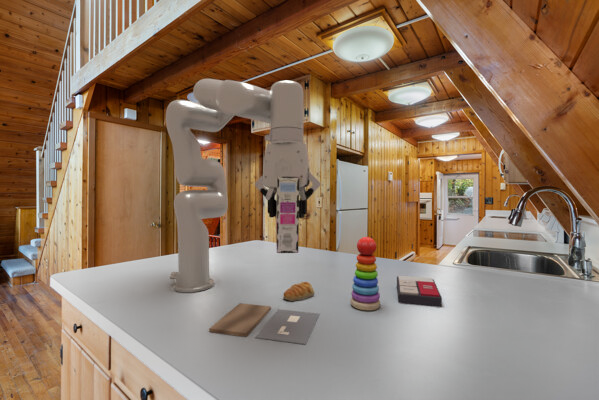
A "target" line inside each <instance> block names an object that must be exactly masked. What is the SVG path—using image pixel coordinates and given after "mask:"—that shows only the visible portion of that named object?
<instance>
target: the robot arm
mask: <svg viewBox="0 0 599 400" xmlns="http://www.w3.org/2000/svg"><path fill="white" fill-rule="evenodd" d="M193 96H194V100H196V101H191V100H187V99H176V100H175V99H174V100H173V101H171V102H169V104H168V106H167V108H166V112H165V124H166V130H167V133H168V137H169V138H170V141H171V145H172V153H173V161H174V169H175V170H174V171H175V177H176V180H177V182H178V184H179V185H180V186H184V187H193V188H194V187H197V188H199V187H200V188H201V187H204V188H205V187H206V189H207V190H206V189H189V190H183V191H181V192H179V193H177V194H176V196H175V197H174V199H173V209H174V213H175V218H176V226H177V252H178V253H177V257H178V258H177V259H178V261H177V262H178V263H177V264H178V267H177V268H178V271H172V272H171V274H170V275H169V279H170V280H175V282H174V284H173V289H174V291H176V292H178V293H196V292H201V291H206V290H208V289H210V288H212V287H214V286H215V280H214V279H213V278H210V247H209V246H210V244H209V243H210V240H209V239H210V236H209V235H210V234H209V233H210V232H209V230H208V227H207V226H206V224H205V223H204V221H203V220H204V219H215V218H220V217H223V216H225V215H226V213H228V208H229V200H228V189H227V183H226V175H225V170H224V167H223V166H222V164H221V163H220V162H219V161H218V160H216V159H215V160H214V159H208V158H203V157H202V152H201V144H200V143H199V140H198V139H197V137H196V136H195V134H193V132H192V131H191V129H192V130H197V131H203V132H209V133H216V132H220V131H221V130H222V129H223V128H224V127H225V126H226V125H227V124H228V123H229V122H230V121H231V120H232V119H233V117H235V116H237V117H240V118H243V119H249V120H253V121H256V122H257V121H258V122H261V123H266V124H269V125H270V130H269V133H268V134H265V135H264V140H265V141H266V142H267V141H268V142H269V143H268V144H266V148H265V153H264V160H263V169H262V170H263V171H262V175H261V176H260V177H259V178H258V179H257V180H256V181H255V182H254V187H256V189H257V190H258V191H259V192H260V193H261V195H263V197H264V198H265V200H266V201H267V214H268V216H269V218H274V217H275V218H276V215H277V209H276V208H277V199H276V196H277V177H286V176H287V177H299V219H303V218H305V216H306V215H307V213H308V200H309V198H310V197H312V196H313V194H315V192H316V191H317V190H318V188H320V187H321V185H322V183H321V181H319V179H318V178H316V177H315V176H314V175H313V174H312V173H311V172H310V160H309V153H308V147H307V144H306V143H305V142H304V89H303V86H302V84H300V83H299V82H297V81H294V80H287V79H285V80H279V81H276V82H274V83H273V84H272V85H271V87H270V90H268V89H265V88H262V87H259V86H257V85H253V84H250V83H247V82H243V81H237V80H232V79H225V80H222V79H221V80H220V79H214V78H202V79H200V80H198V81H197V82H196V83H195V84H194V86H193ZM310 182H311V184H312V185H311V186H310ZM309 186H310V187H309ZM307 187H309V188H308V189H307Z"/></svg>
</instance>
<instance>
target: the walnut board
mask: <svg viewBox="0 0 599 400" xmlns="http://www.w3.org/2000/svg"><path fill="white" fill-rule="evenodd" d="M271 310H272V306H271V305H261V304H252V303H241V302H240V303H238V304H236V306H235V307H233V308H232V309H231V310H229V311H228V312H226V314H224V315H223V317H221V318H220V319H219V320H217V321H216V322H215V323H214V324H213V325H212V326H210V327H209V329H208V332H209V333H213V334H219V335H220V334H221V335H228V336H237V337H242V338H243V337H245V338H247V337H248V336H249V335H250V334H251V333H252V331H253V330H254V329H255V328H256V327H257V326H258V325H259V324H260V323H261V321H262V320H263V319H264V318H265V317H266V315H267V314H268V313H269V312H270V311H271Z"/></svg>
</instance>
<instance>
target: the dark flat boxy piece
mask: <svg viewBox="0 0 599 400" xmlns="http://www.w3.org/2000/svg"><path fill="white" fill-rule="evenodd" d="M396 293H397V302H398V304H404V305H416V306H425V307H435V308H442V307H443V305H442V304H443V303H442V302H443V301H442V300H443V299H442V295H441V293H440V291H439V288H438V286H437V284H436V281H435V279H434V278H432V277H421V276H408V275H407V276H406V275H398V276H396Z"/></svg>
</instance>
